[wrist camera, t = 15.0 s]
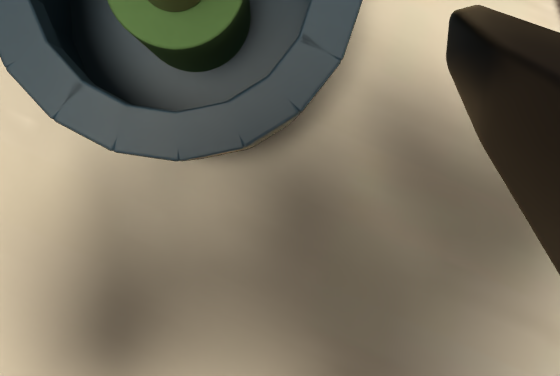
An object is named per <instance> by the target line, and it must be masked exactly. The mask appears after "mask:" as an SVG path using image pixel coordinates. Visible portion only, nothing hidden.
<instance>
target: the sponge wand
mask: <svg viewBox="0 0 560 376" xmlns="http://www.w3.org/2000/svg"><path fill="white" fill-rule="evenodd" d="M107 1H108V4H109V6H110V8H111V10H112V12H113V14H114V15H115V17H116V18H117V20H118V21H119V22H120V23H121V25H122V26H123V27H124V28H125V29H126V30H127V31H128V32H130V33H131V34H132V35H133V36H134V37H135V38H136V39H138V40H139V41H140V42H141V43H142V44H143V45H144V46H146V47H147V48H148V49H149V50H150V51H151V52H152V53H154V54H155V55H156V56H157V57H158V58H159V59H161V60H162V61H163V62H165V63H166V64H168V65H170V66H172V67H174V68H177V69H179V70H183V71H189V72H203V71H208V70H212V69H215V68H217V67H219V66H221V65H223V64H225V63H226V62H228V61H229V60H230V59H231V58H233V57H234V56H235V55H236V54H237V52H238V51H239V50H240V48H241V47H242V45H243V44H244V42H245V40H246V37H247V35H248V32H249V27H250V19H251V14H250V2H249V0H107Z"/></svg>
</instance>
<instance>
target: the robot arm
mask: <svg viewBox="0 0 560 376" xmlns="http://www.w3.org/2000/svg"><path fill="white" fill-rule="evenodd" d="M446 60H447V65H448V69H449V71H450V74H451V76H452V78H453V81H454V83H455V85H456V87H457V90H458V92H459V94H460V97H461V99H462V101H463V104H464V106H465V108H466V110H467V113H468V115H469V117H470V120H471V122H472V124H473V127H474V129H475V131H476V133H477V135H478V137H479V140H480V142H481V144H482V145H483V147H484V149H485V151H486V152H487V154H488V156H489V158H490V159H491V161H492V163H493V164H494V166H495V168H496V169H497V171H498V173H499V174H500V176H501V178H502V179H503V181H504V183H505V184H506V186H507V188H508V189H509V191H510V193H511V194H512V196H513V198H514V199H515V201H516V203H517V204H518V206H519V208H520V209H521V211H522V213H523V214H524V216H525V218H526V219H527V221H528V223H529V224H530V226H531V228H532V229H533V231H534V233H535V234H536V236H537V238H538V239H539V241H540V243H541V244H542V246H543V248H544V249H545V251H546V253H547V254H548V256H549V258H550V259H551V261H552V263H553V264H554V266H555V268H556V269H557V271H558V273H559V274H560V33H559V32H556V31H553V30H550V29H547V28H544V27H541V26H538V25H536V24H533V23H530V22H527V21H524V20H521V19H518V18H515V17H513V16H510V15H507V14H504V13H501V12H498V11H495V10H492V9H490V8H487V7H484V6H481V5H474V6H470V7H466V8H463V9H459V10H456V11H454V12H453V13H452V14H451V17H450V20H449V30H448V41H447V52H446Z"/></svg>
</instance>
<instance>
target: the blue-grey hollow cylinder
mask: <svg viewBox="0 0 560 376" xmlns="http://www.w3.org/2000/svg"><path fill="white" fill-rule="evenodd" d="M362 1H363V0H249V2H250V14H251V19H250V27H249V32H248V35H247V37H246V40H245V42H244V44H243V45H242V47H241V48H240V50H239V51H238V52H237V54H236V55H235V56H234V57H233V58H231V59H230V60H229V61H228V62H226V63H225V64H223V65H221V66H219V67H217V68H215V69H212V70H208V71H203V72H189V71H183V70H179V69H177V68H174V67H172V66H170V65H168V64H166V63H165V62H163V61H162V60H161V59H159V58H158V57H157V56H156V55H155V54H154V53H152V52H151V51H150V50H149V49H148V48H147V47H146V46H144V45H143V44H142V43H141V42H140V41H139V40H138V39H136V38H135V37H134V36H133V35H132V34H131V33H130V32H128V31H127V30H126V29H125V28H124V27H123V26H122V25H121V23H120V22H119V21H118V20H117V18H116V17H115V15H114V14H113V12H112V10H111V8H110V6H109V4H108V1H107V0H0V57H1V59H2V62H3V64H4V66H5V67H6V70H7V71H8V72H9V74H10V75H11V76H12V77H13V78H14V79H15V80H16V81H17V82H18V83H19V84H20V85H21V87H22V88H23V89H24V90H25V91H26V92H27V93H28V94H29V95H30V96H31V97H32V98H33V100H34V101H35V102H36V103H37V104H38V105H39V106H40V107H41V108H42V109H43V110H44V111H45V113H46V114H47V115H48V116H49V117H50V118H52V119H54V120H55V121H56V122H57V123H59V124H61V125H63V126H65V127H67V128H69V129H70V130H72V131H74V132H76V133H78V134H80V135H82V136H84V137H86V138H87V139H89V140H91V141H93V142H95V143H97V144H99V145H101V146H102V147H104V148H106V149H108V150H110V151H114V152H116V153H123V154H130V155H136V156H143V157H150V158H157V159H164V160H171V161H187V160H195V159H202V158H208V157H212V156H217V155H222V154H227V153H232V152H237V151H242V150H246V149H249V148H252V147H253V146H255V145H257V144H258V143H260V142H262V141H263V140H265V139H267V138H268V137H270V136H271V135H273V134H274V133H276V132H278V131H279V130H281V129H283V128H284V127H286V126H287V125H289V124H290V123H291V122H292V121H294V120H295V119H296V117H297V116H298V115H299V114H300V113H301V112H302V111H303V110H304V109H305V108H306V106H307V105H308V104H309V102H310V101H311V100H312V99H313V97H314V96H315V95H316V94H317V92H318V91H319V90H320V89H321V87H322V86H323V85H324V83H325V82H326V81H327V80H328V78H329V77H330V76H331V75H332V73H333V72H334V71H335V70H336V68H337V67H338V66H339V64H340V62H341V60H342V59H343V57H344V54H345V51H346V48H347V45H348V42H349V39H350V36H351V33H352V31H353V28H354V25H355V22H356V19H357V16H358V13H359V10H360V7H361V4H362Z"/></svg>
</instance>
